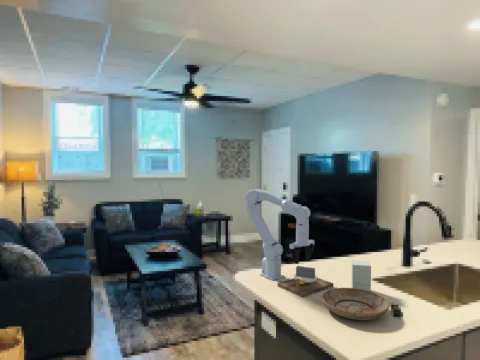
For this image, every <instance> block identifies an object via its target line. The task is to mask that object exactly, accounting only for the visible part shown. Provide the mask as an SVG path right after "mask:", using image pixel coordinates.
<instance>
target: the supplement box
mask: <svg viewBox="0 0 480 360" xmlns="http://www.w3.org/2000/svg"><path fill="white" fill-rule="evenodd" d="M371 287H372V265H371V263H370V261H369V260H356V259H355V260H354V259H352V260H351V288H356V289H362V290H367V291H371V292H372V290H371V289H372V288H371Z"/></svg>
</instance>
